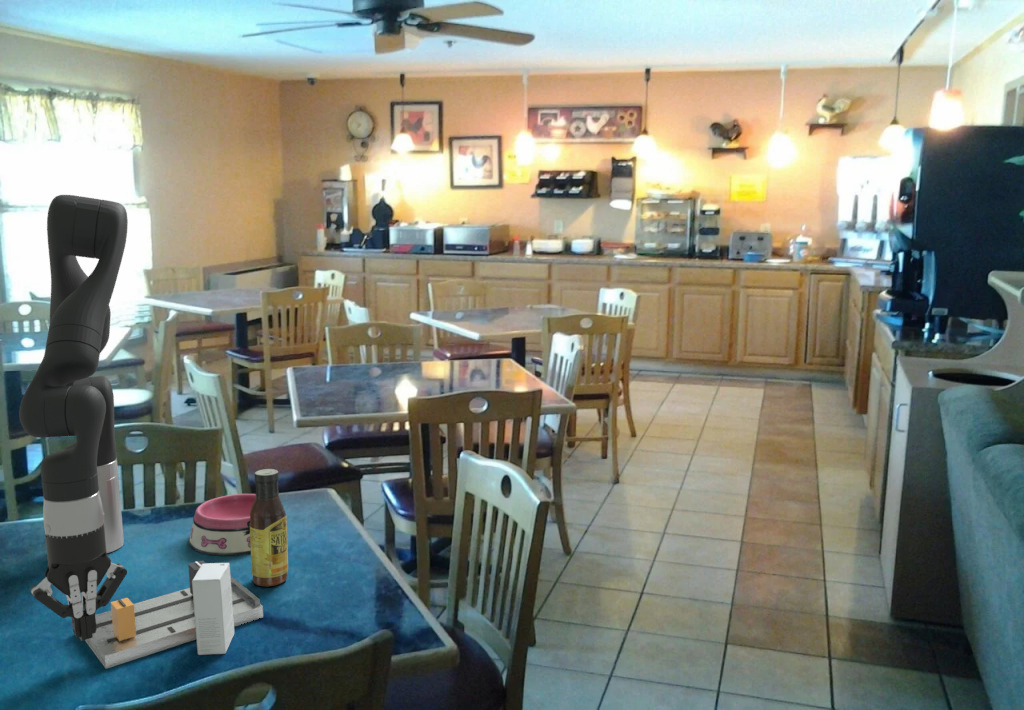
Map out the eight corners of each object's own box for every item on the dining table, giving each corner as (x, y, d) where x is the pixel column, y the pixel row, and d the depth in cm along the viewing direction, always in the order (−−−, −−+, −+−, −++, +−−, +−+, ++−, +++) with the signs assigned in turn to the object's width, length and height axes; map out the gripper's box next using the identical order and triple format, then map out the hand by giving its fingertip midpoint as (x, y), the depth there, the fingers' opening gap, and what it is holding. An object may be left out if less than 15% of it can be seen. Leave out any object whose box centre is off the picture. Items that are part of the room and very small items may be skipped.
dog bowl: (256, 514, 187) (254, 483, 186) (305, 537, 174) (303, 505, 173) (172, 538, 174) (170, 505, 172) (218, 565, 161) (216, 530, 160)
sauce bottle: (278, 590, 151) (273, 479, 147) (245, 586, 152) (239, 477, 148) (295, 574, 157) (290, 467, 154) (263, 571, 158) (257, 465, 155)
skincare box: (206, 635, 135) (201, 562, 133) (235, 634, 136) (230, 561, 134) (196, 656, 129) (190, 580, 127) (225, 654, 130) (221, 579, 128)
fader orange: (113, 633, 131) (110, 601, 130) (129, 628, 133) (127, 596, 132) (119, 641, 129) (116, 608, 128) (136, 635, 131) (133, 603, 130)
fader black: (190, 592, 145) (188, 563, 144) (204, 588, 146) (202, 559, 145) (197, 599, 142) (195, 569, 141) (211, 594, 144) (209, 565, 143)
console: (78, 632, 136) (76, 614, 136) (227, 587, 152) (226, 571, 151) (105, 668, 126) (104, 649, 125) (263, 617, 141) (262, 600, 141)
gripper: (115, 506, 131) (124, 614, 134) (16, 528, 123) (28, 642, 126) (131, 520, 125) (140, 632, 129) (28, 544, 117) (41, 663, 120)
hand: (85, 637), depth 127 cm, fingers closed
